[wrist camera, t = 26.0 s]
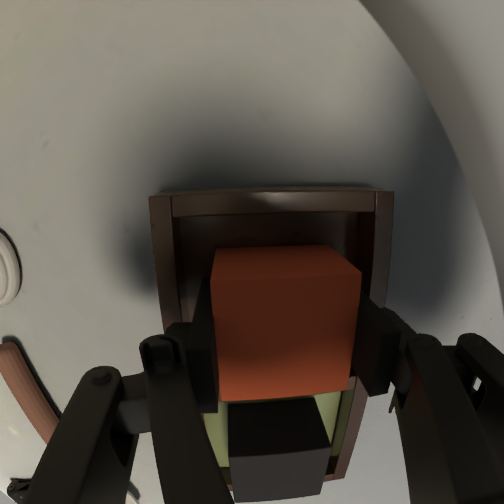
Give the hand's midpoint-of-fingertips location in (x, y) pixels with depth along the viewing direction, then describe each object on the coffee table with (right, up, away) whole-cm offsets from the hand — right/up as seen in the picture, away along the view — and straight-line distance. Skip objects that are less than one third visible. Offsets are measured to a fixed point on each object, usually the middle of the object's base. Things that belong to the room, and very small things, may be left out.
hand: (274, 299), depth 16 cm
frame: (0, -5, +3) cm, 5 cm away
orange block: (0, 0, 0) cm, 0 cm away
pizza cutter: (-17, -14, +4) cm, 22 cm away
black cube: (0, -10, +3) cm, 10 cm away
